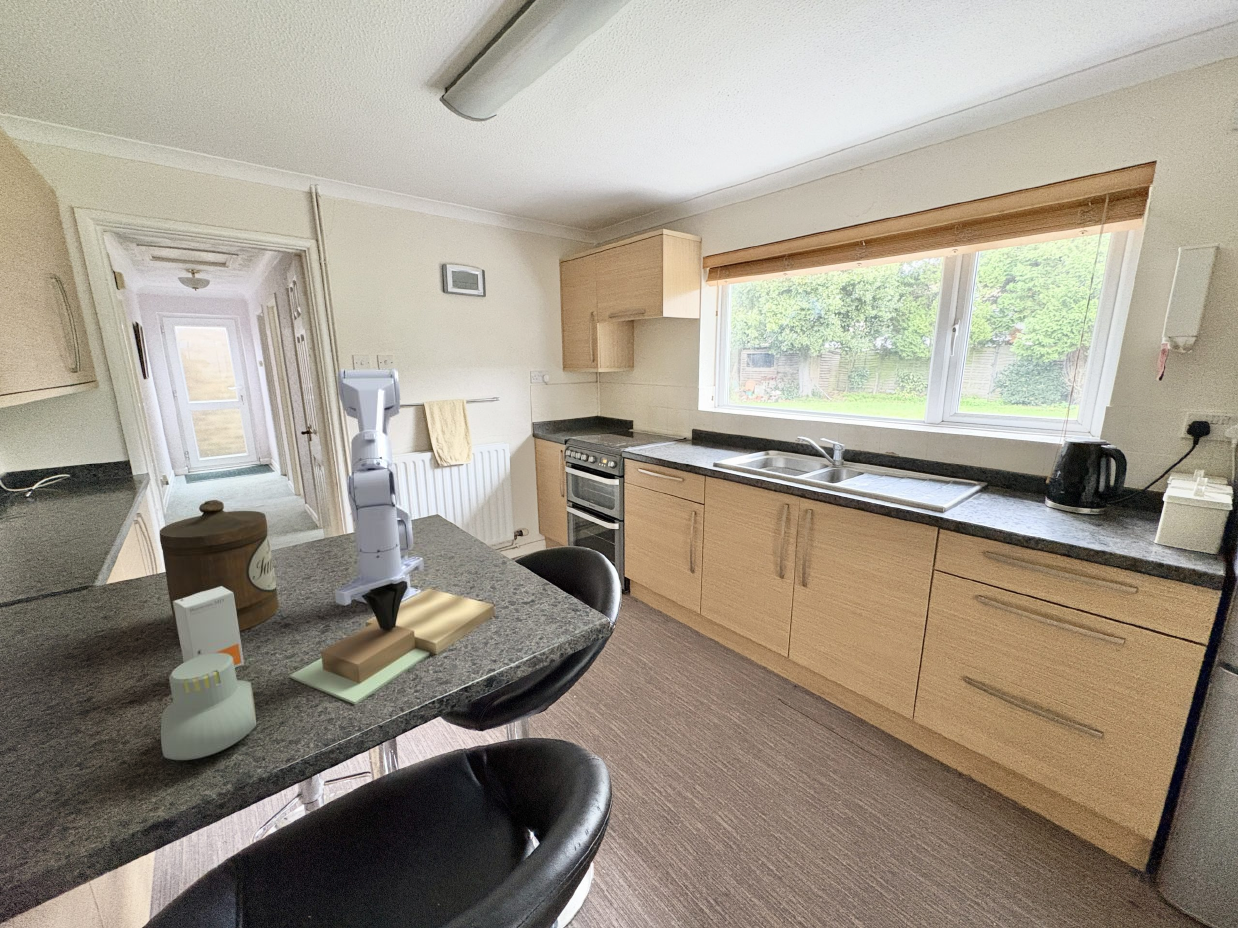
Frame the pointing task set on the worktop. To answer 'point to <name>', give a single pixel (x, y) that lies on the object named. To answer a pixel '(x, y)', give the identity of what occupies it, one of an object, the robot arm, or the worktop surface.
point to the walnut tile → (367, 652)
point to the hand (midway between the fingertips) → (387, 627)
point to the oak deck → (440, 618)
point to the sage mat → (349, 688)
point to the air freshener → (206, 708)
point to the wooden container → (222, 560)
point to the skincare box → (209, 625)
